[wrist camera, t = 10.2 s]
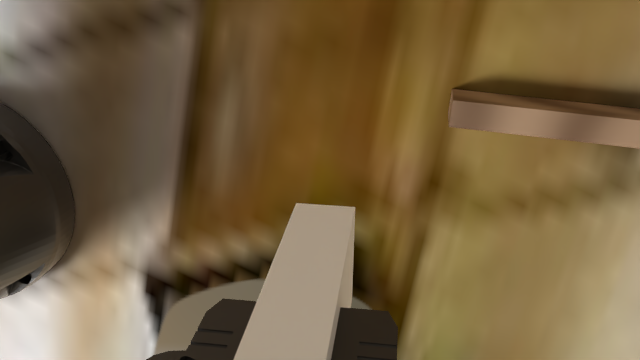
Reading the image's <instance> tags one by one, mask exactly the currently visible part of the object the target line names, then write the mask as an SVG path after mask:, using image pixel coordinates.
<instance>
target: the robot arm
mask: <svg viewBox="0 0 640 360" xmlns="http://www.w3.org/2000/svg"><path fill="white" fill-rule="evenodd" d="M354 226H355V207H345V206H331V205H316V204H301V203H296V205H295V207H294V210H293V212H292V215H291V217H290V220H289V222H288V225H287V227H286V230H285V232H284V235H283V237H282V240H281V242H280V245H279V247H278V250H277V252H276V255H275V257H274V260H273V262H272V265H271V267H270V270H269V272H268V275H267V277H266V280H265V282H264V285H263V287H262V290H261V292H260V295H259V297H258V300H257V302H255V301H244V300H232V299H222V300H221V301H219V302H218V303H217V304H216V305H214V306H213V307H212V308H211V309H209V310H208V311H207V312H206V313H205V316H204V317H203V319H202V321H201V323H200V325H199V327H198V331H197V332H196V333H195V335H194V337H193V339H192V340H191V345H189V346H188V348H187V350H186V351H168V352H164V353H160V354H157V355H153V356H152V357H150V358H148V359H146V360H397V332H398V327H397V326H396V324H395V322H394V321H393V319H392V317H391V315H390V314H389V312H388V311H378V310H367V309H355V308H350V307H351V302H352V283H353V254H354ZM73 228H74V202H73V196H72V192H71V188H70V185H69V182H68V179H67V176H66V174H65V172H64V169H63V167H62V165H61V163H60V162H59V160H58V158H57V156H56V155H55V153H54V152H53V150H52V149H51V147H50V146H49V145H48V143H47V142H46V141H45V139H44V138H43V137H42V136H41V135H40V134H39V133H38V132H37V131H36V129H35V128H34V127H33V126H31V125H30V124H29V123H28V122H27V121H26V120H25V119H24V118H22V117H21V116H20V115H19V114H17V113H16V112H14V111H13V110H12V109H10V108H8V107H7V106H5V105H3V104H2V103H0V299H1V298H4V297H7V296H9V295H12V294H15V293H17V292H20V291H22V290H24V289H25V288H27V287H29V286H31V285H32V284H33V283H35V282H36V281H37V280H39V279H40V278H41V277H42V276H43V275H44V274H45V273H46V272H48V271H49V270H50V269H51V268H52V267H53V266H54V265H55V264H56V263H57V262H58V261H59V260H60V259H61V257H62V256H63V255H64V253H65V251H66V249H67V247H68V245H69V243H70V240H71V237H72V233H73Z"/></svg>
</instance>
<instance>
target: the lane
mask: <svg viewBox="0 0 640 360" xmlns="http://www.w3.org/2000/svg"><path fill="white" fill-rule="evenodd" d="M448 120H449V127H456V128H464V129H473V130H482V131H491V132H500V133H508V134H517V135H526V136H535V137H543V138H552V139H561V140H570V141H579V142H587V143H596V144H605V145H614V146H622V147H631V148H640V109H638V108H628V107H619V106H609V105H600V104H590V103H581V102H572V101H562V100H553V99H543V98H534V97H524V96H515V95H505V94H496V93H486V92H477V91H468V90H458V89H452V92H451V98H450V105H449V111H448Z"/></svg>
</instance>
